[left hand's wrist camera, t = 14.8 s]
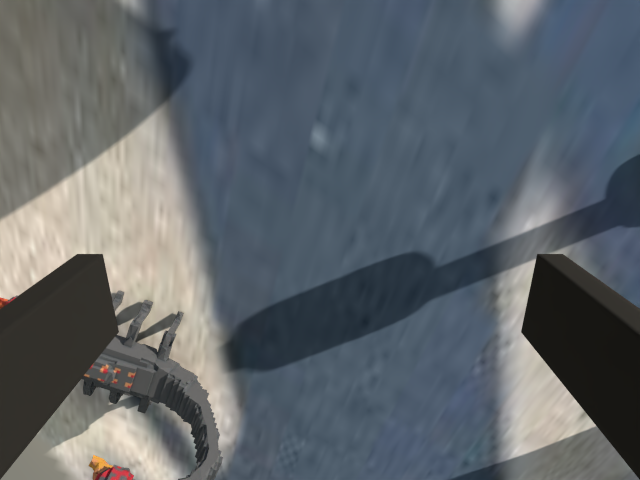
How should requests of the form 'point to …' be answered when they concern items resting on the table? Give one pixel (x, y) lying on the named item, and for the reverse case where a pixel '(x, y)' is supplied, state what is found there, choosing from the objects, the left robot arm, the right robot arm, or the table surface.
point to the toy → (153, 391)
